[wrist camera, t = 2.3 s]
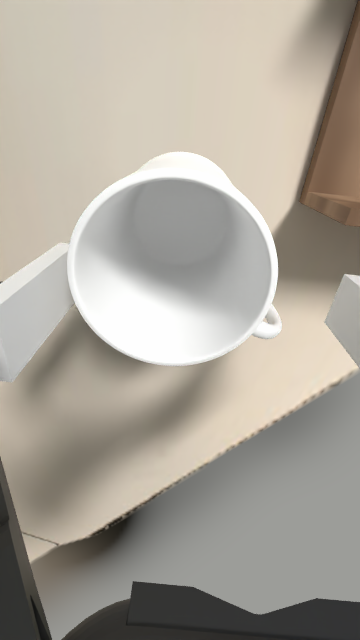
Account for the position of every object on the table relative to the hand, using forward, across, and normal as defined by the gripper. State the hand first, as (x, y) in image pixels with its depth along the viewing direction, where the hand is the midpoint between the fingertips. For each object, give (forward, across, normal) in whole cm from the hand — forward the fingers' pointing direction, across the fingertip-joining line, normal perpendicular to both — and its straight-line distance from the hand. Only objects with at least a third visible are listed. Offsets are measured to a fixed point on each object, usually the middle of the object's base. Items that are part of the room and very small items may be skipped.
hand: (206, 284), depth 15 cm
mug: (+9, 0, 0) cm, 9 cm away
